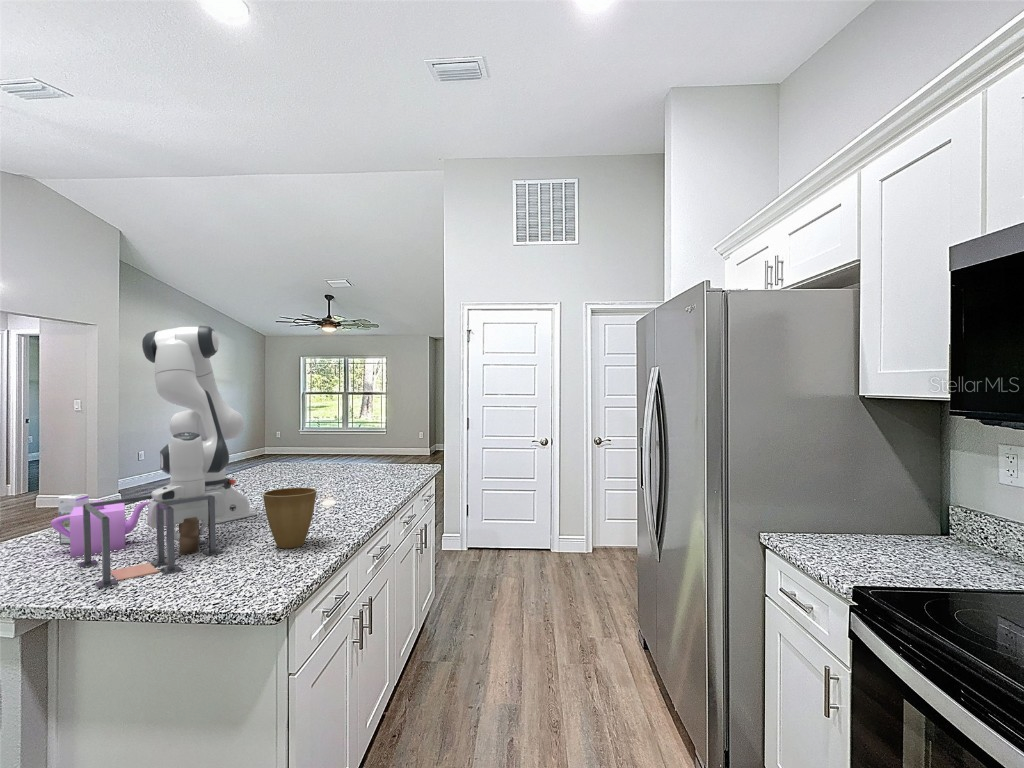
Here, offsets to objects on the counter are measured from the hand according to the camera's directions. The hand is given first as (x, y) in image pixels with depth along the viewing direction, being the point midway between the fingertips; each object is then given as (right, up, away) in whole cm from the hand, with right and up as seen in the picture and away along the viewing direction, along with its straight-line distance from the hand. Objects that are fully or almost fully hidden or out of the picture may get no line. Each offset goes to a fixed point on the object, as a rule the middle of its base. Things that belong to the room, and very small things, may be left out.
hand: (188, 537), depth 172 cm
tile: (-4, -4, -18) cm, 19 cm away
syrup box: (-42, -5, +13) cm, 45 cm away
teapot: (-29, -5, +6) cm, 30 cm away
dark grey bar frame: (-4, -4, -10) cm, 11 cm away
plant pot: (+28, -4, +5) cm, 28 cm away
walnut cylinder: (0, -4, 0) cm, 4 cm away
